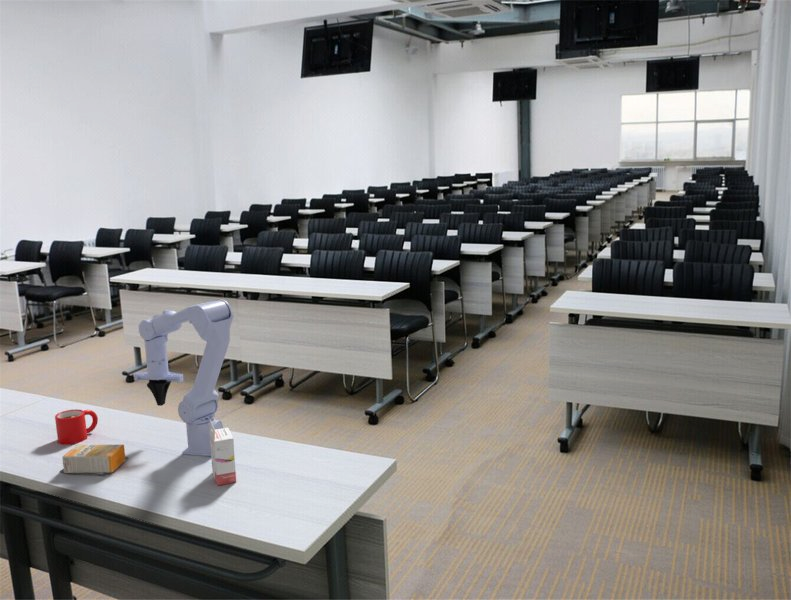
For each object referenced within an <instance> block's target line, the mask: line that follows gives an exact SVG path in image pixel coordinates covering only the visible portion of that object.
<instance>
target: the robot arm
mask: <svg viewBox="0 0 791 600" xmlns="http://www.w3.org/2000/svg"><path fill="white" fill-rule="evenodd" d="M234 317H235V315H234V312H233V310H232V307H231V306H230V304H229V302H228V301H227V300H225V299H217V300H213V301H207V302H203V303H197V304H194V305H190V306H187V307H185V308H183V309H181V310H179V311H175V310H170V309H165V310H163V311H162V314H160V315H159V314H155V315H153V316H152V318H149V319H143V320H142V321H141V322H140V323H139V324H138V333H139V335H140V337H141V338H142V340H144V349H145V360H146V369H147V370H146V371H137V372H134V373H133V380H134V381H148V383H146V387H147V388H148V389H149V390H150V392H151V394H152V395H153V397H154V400H155V402H156V405H157V406H161V407H162V406H164V405H166V399H167V394H168V390H169V388H170V385H171V383H172V382H177V383H182V382H184V374H183V373H177V372H171V371H169V361H168V351H167V350H168V349H167V343H168V335H169V334H171V333H175V332H176V331H179V330H180V328H182V324H184V323H187V322H188V323H189V324H191V325H192V326H193V328H194V329H195V331H196V332H197V334H198V336H199V337H200V339H201V340H202V341H205V342H206V344H205V347H204V350H203V354H202V357H201V360H200V364H199V367H198V371H197V373H196V377H195V381H194V383H193V387H192V388H191V389H190V390H189V391H188V392H186V393H185V395H184V396H183V399H182V401H180V402H179V404H178V406H177V414H178V416H179V418H180V419H181V420H182V422H183V423H185V427H186V438H187V448H186V449H184V450H183V451H182V452H181V453H182V455H190V456H191V455H192V456H205V457H211V445H210V420H211V422H212V424H213V427H214V429H215V430H216V429H222V428H224V424H223V422H222V420H219V419H215V415H216V414H215V413H217V411H218V410H219V399H220V395H219V392H217V390H215V388H216V386H217V385H216V384H217V382H218V379H219V375H220V372H221V368H222V366H223V363H224V360H225V357H226V353H227V350H228V347H229V344H230V338H231V337H230V336H231V335H230V334H231V326H232V324H233V319H234Z"/></svg>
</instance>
